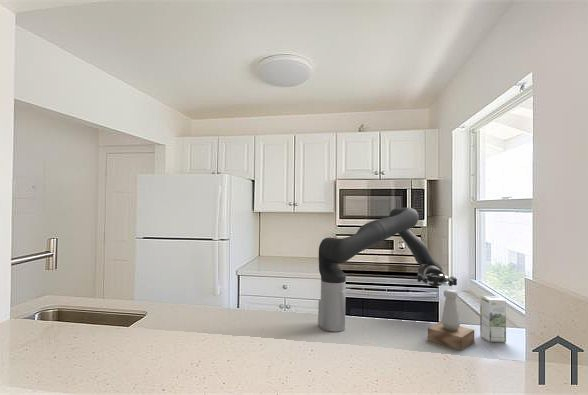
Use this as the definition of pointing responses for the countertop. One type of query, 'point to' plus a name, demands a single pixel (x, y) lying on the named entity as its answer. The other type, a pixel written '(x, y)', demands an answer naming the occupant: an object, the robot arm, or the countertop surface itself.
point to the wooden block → (451, 336)
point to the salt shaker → (450, 311)
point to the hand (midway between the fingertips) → (438, 282)
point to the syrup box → (493, 318)
